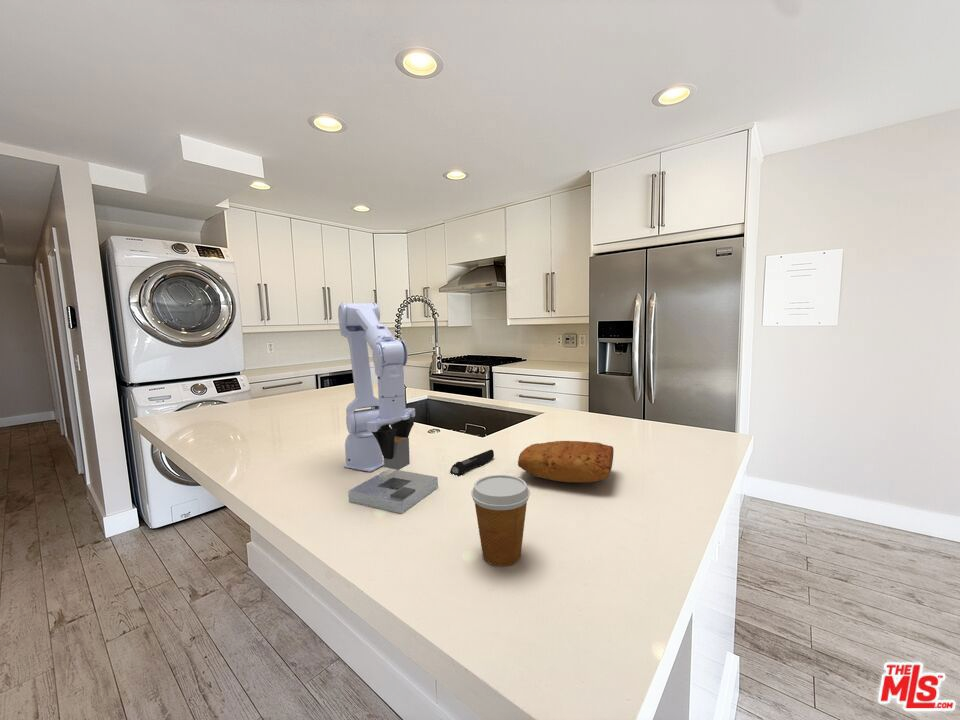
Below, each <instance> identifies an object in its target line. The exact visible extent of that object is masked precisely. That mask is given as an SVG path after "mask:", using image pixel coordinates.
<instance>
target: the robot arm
mask: <svg viewBox="0 0 960 720" xmlns="http://www.w3.org/2000/svg"><path fill="white" fill-rule="evenodd" d="M337 311H338V312H337V318H338V327H339V332H340V336H342V337H344V338H346V339H347V342H348V346H349V353H350V363H351V369H352V379H353V380H352V381H353V386H354V388H353V389H354V395H355V398H354V399H353V400H352V401H351V402H350V403H349V404H348V405H347V407H346V409H345V410H346V411H345V412H346V414H345V415H346V416H345V421H346V423H345V424H346V429H347V432H348V433H349V434H347V437H346V439H345V442H344V448H345V449H344V450H345V453H344V454H345V464H344V465H343V468H348V469H353V470H358V471H363V472H369V473H371V472H373V471H375V470H377V469H380V468H381V467H384V458H385V459H392V458H393V452H394V439H395V436H397V437H405V438H409V436H410V433H411V430H412V428H413V427H414V425H415V421H414V420H413V419H410V418H415V417H416V408H414V407H408V408H407V407H406V394H405V393H406V391H405V372H404V371H405V369H404V367H405V366H406V365H407V362H408V356H409V355H408V348H407V345H406V342H405V340H403V339H396V338H395V337H394V335H393V334H392V333H391V331H390V329H389V328H388V327H387V326H386V325H384V323H380V322H381V321H380V319H381V310H380V307H379V305H378V304H377V303H376V302H371V303H370V302H369V303H368V302H362V303H361V302H359V303H358V302H340V304H339V305H338V310H337ZM368 346H369V347H370V350H371V351H372V361H373V365H374V373H375V376H377V393H378V394H377V395H378V397H376V396H374V389H373V382H372V381H373V380H372V372H371V364H370V357H369V349H368ZM367 408H368V409H367Z"/></svg>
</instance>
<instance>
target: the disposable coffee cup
mask: <svg viewBox="0 0 960 720" xmlns="http://www.w3.org/2000/svg"><path fill="white" fill-rule="evenodd" d="M470 493H471V495H470V496H471V498H472V500H473V502H474V507H475V513H476V519H477V525H478V534H479V539H480V547H481V552H482V554H481V555H482V557H483V560H484V561H485V562H486V563H488V564H490V565H493V566H496V567H507V566H512V565H514V564H516V563H518V561H519V560H520V559H521V556H522V549H523V548H522V547H523V540H524V539H523V537H524V530H525V529H524V528H525V521H526V512H527V505H528V503H527V502H528V501H529V499H530V495H531V492H530V490H529V489H528V484H527V482H526V481H525V480H524V479H522V478H520V477H518V476H515V475H509V474H491V475H486V476H484V477H481V478H478V480H476V481H475V483H474V485H473V488H472V490H471V492H470Z"/></svg>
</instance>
